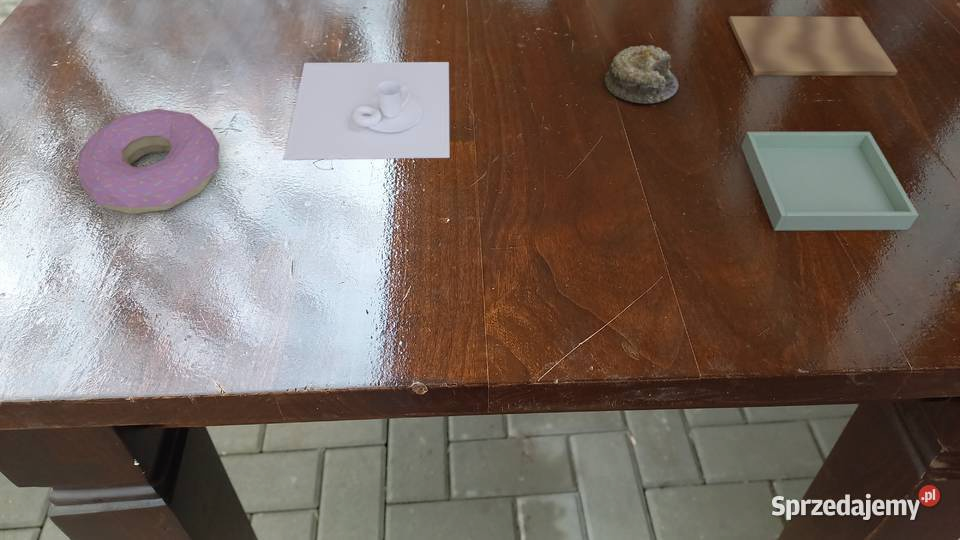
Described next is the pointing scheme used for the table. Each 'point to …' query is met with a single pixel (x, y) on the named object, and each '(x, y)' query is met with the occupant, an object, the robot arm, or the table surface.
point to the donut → (156, 184)
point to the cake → (641, 75)
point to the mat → (810, 46)
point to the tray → (826, 181)
